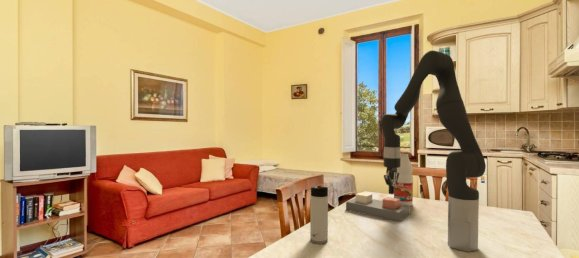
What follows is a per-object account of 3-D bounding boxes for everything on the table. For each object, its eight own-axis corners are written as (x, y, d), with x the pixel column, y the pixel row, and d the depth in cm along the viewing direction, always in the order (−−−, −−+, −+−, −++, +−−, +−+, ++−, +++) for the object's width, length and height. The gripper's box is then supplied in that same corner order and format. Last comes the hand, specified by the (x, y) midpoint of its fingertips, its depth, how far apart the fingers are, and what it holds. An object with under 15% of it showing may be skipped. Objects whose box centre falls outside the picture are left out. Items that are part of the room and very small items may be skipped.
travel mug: (314, 245, 105) (314, 188, 104) (307, 238, 111) (308, 184, 111) (330, 243, 106) (331, 187, 106) (323, 236, 113) (324, 183, 112)
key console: (398, 221, 131) (398, 212, 131) (346, 209, 148) (346, 201, 148) (409, 214, 142) (409, 205, 142) (359, 204, 159) (359, 196, 159)
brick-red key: (395, 210, 136) (395, 201, 136) (382, 207, 140) (382, 199, 140) (400, 207, 141) (400, 198, 140) (387, 205, 145) (387, 196, 144)
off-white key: (366, 204, 145) (366, 196, 145) (355, 202, 149) (355, 194, 149) (372, 202, 150) (372, 194, 150) (361, 200, 154) (361, 192, 154)
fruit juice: (415, 203, 160) (416, 151, 160) (408, 207, 153) (409, 152, 152) (397, 200, 166) (398, 150, 166) (390, 204, 159) (391, 151, 159)
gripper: (394, 158, 132) (393, 197, 133) (405, 156, 142) (404, 192, 143) (378, 157, 137) (377, 194, 138) (389, 155, 147) (389, 190, 148)
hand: (391, 193), depth 140 cm, fingers closed
